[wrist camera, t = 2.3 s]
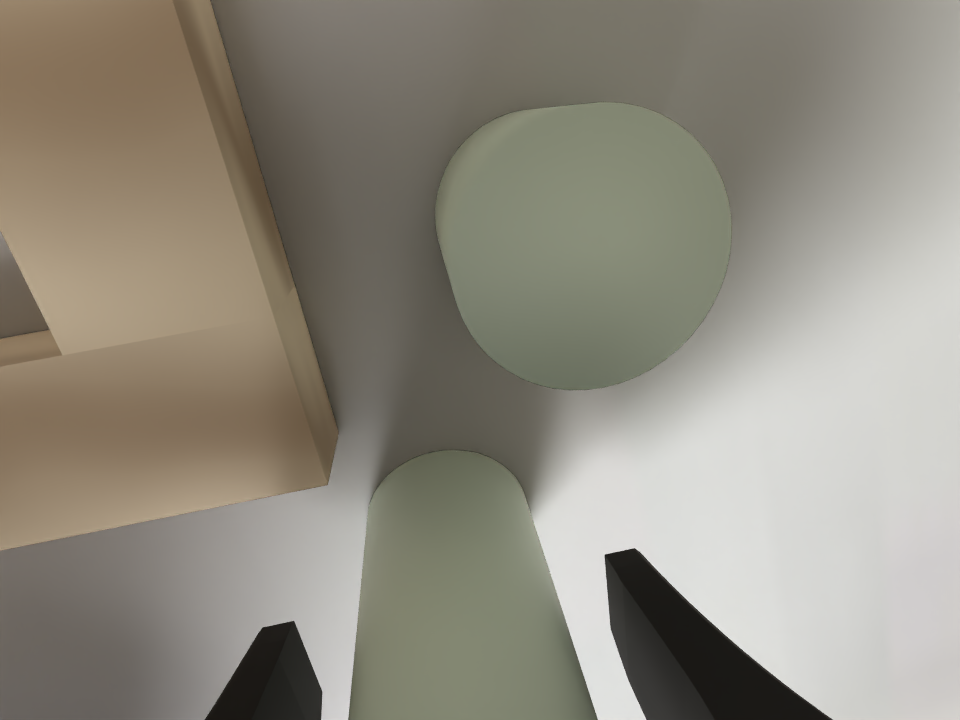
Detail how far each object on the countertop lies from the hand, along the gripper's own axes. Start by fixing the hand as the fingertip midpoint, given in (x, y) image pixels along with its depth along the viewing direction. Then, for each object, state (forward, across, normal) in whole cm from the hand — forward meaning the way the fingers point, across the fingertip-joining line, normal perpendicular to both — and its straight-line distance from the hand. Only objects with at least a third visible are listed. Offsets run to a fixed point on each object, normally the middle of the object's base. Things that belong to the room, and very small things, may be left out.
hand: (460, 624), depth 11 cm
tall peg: (+3, 0, 0) cm, 3 cm away
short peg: (+3, -3, -7) cm, 8 cm away
